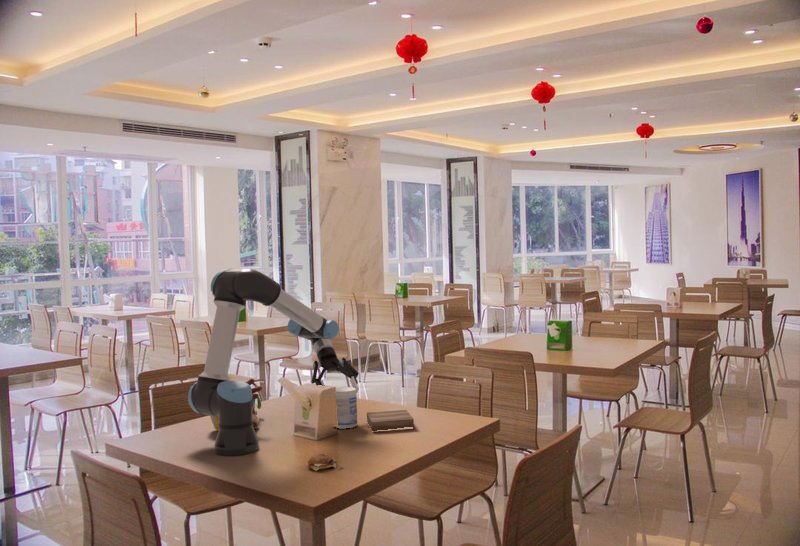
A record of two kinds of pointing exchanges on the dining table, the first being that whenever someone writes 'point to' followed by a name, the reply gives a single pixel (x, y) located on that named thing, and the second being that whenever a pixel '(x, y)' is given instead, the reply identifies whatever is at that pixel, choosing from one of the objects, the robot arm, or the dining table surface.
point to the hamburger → (321, 462)
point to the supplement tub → (346, 407)
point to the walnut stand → (389, 420)
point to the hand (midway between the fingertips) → (341, 393)
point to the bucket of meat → (255, 418)
